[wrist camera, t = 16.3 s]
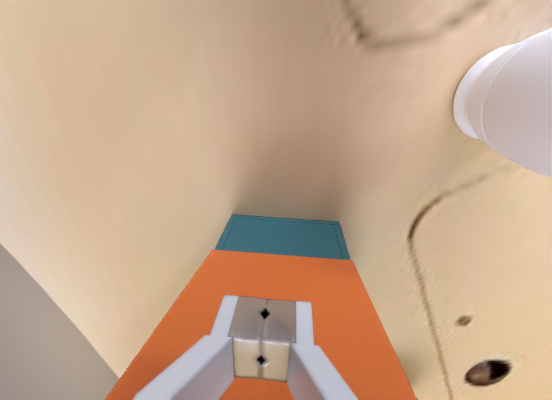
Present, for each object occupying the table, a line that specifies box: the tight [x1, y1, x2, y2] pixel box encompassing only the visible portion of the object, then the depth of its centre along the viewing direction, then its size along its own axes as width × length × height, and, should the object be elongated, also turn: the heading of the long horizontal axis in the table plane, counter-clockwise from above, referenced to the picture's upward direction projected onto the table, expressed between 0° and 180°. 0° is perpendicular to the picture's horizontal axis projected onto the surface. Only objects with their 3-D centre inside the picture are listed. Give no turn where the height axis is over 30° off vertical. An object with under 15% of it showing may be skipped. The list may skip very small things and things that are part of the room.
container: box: [214, 215, 350, 260], centre depth 32 cm, size 16×14×8 cm
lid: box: [105, 250, 417, 400], centre depth 17 cm, size 16×14×1 cm
